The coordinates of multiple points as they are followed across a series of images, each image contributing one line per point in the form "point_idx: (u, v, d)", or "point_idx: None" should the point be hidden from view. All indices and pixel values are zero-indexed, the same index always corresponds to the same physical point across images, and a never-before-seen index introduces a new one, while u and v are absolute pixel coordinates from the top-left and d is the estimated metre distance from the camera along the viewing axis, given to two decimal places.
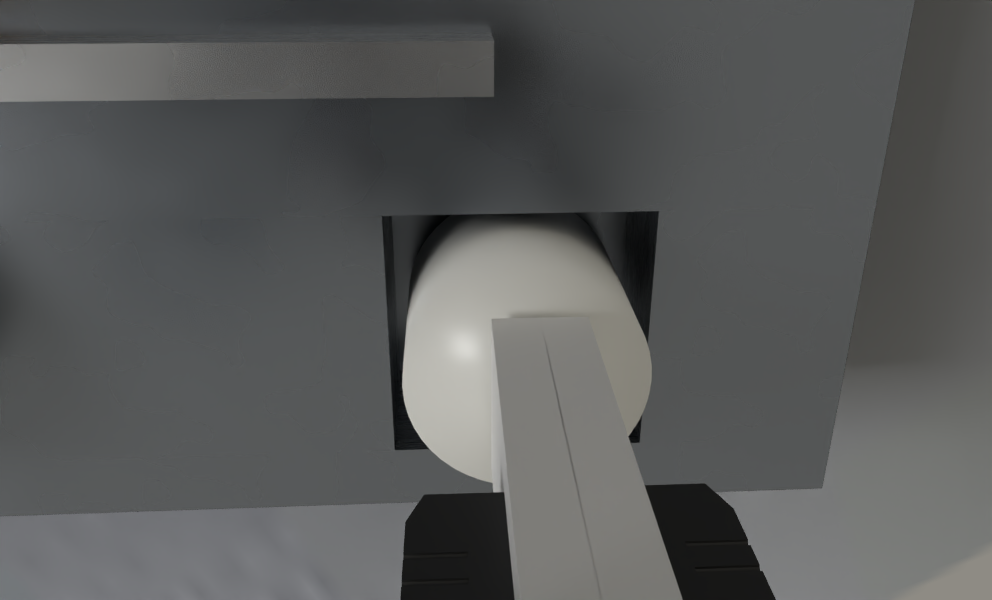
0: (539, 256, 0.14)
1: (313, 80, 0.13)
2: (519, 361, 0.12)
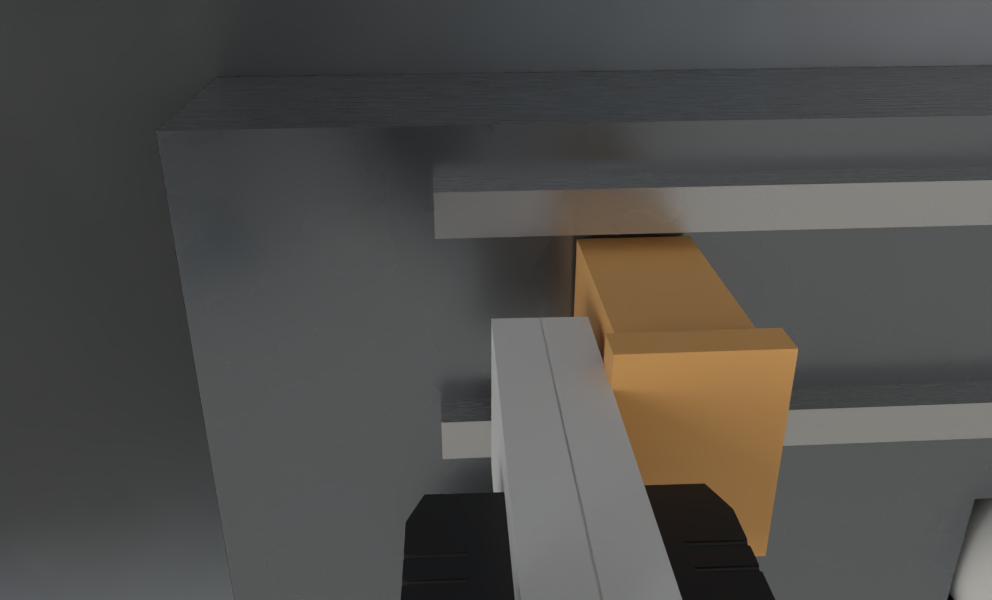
0: None
1: (984, 426, 0.17)
2: (519, 361, 0.12)
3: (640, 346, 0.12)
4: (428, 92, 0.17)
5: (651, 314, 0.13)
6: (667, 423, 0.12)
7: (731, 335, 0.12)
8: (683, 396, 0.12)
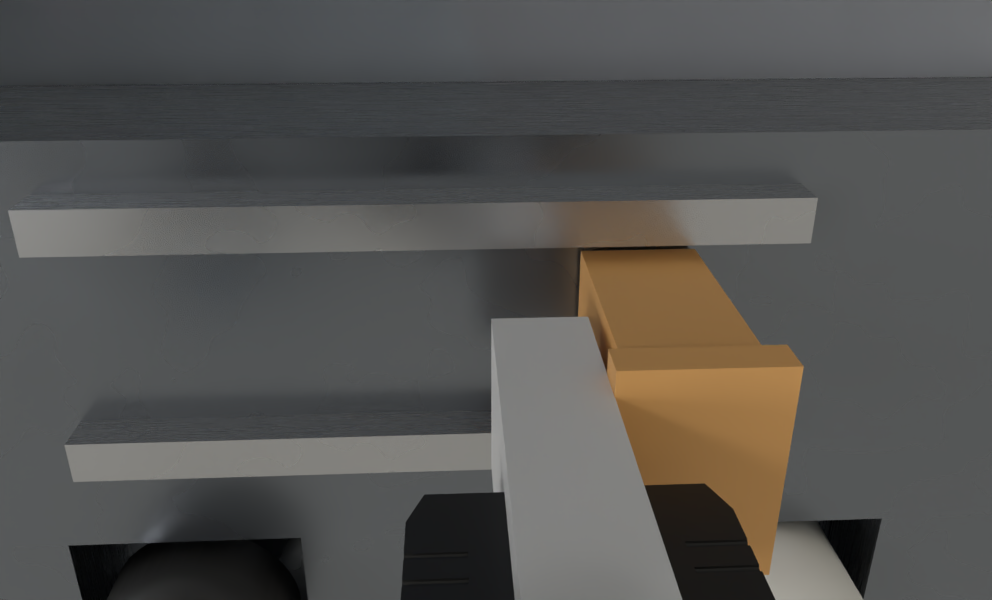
0: (794, 561, 0.18)
1: None
2: (520, 361, 0.12)
3: (643, 362, 0.11)
4: (73, 105, 0.17)
5: (655, 329, 0.13)
6: (670, 440, 0.12)
7: (736, 352, 0.12)
8: (687, 413, 0.12)
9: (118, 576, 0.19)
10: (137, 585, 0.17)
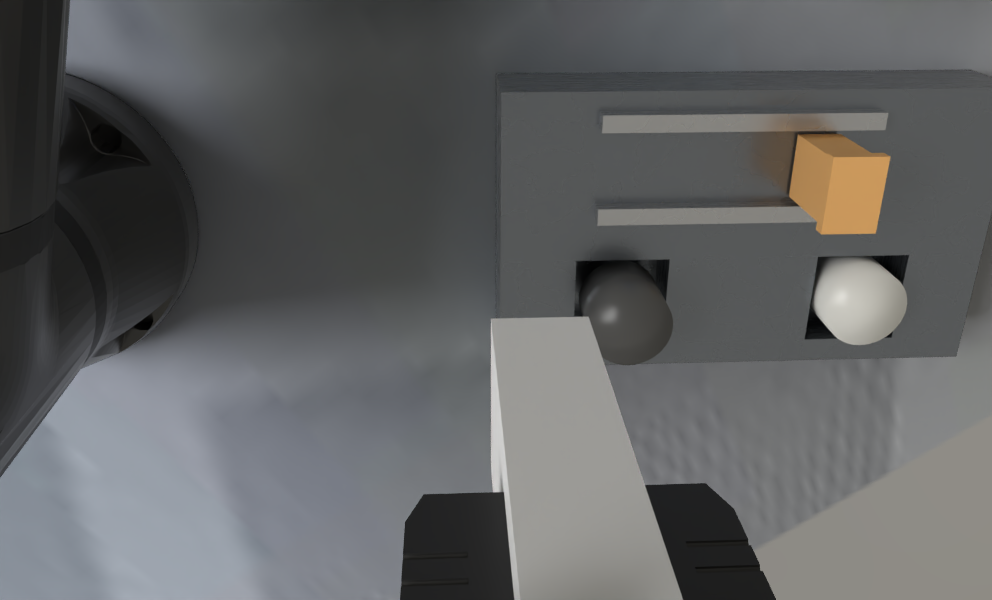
0: (873, 268, 0.43)
1: None
2: (519, 361, 0.12)
3: (841, 155, 0.37)
4: (590, 80, 0.42)
5: (838, 151, 0.38)
6: (847, 181, 0.37)
7: (868, 154, 0.37)
8: (854, 172, 0.37)
9: (587, 279, 0.44)
10: (608, 274, 0.43)
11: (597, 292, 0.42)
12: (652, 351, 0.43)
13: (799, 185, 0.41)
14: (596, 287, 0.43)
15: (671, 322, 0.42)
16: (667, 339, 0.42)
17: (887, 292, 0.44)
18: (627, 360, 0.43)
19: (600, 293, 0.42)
